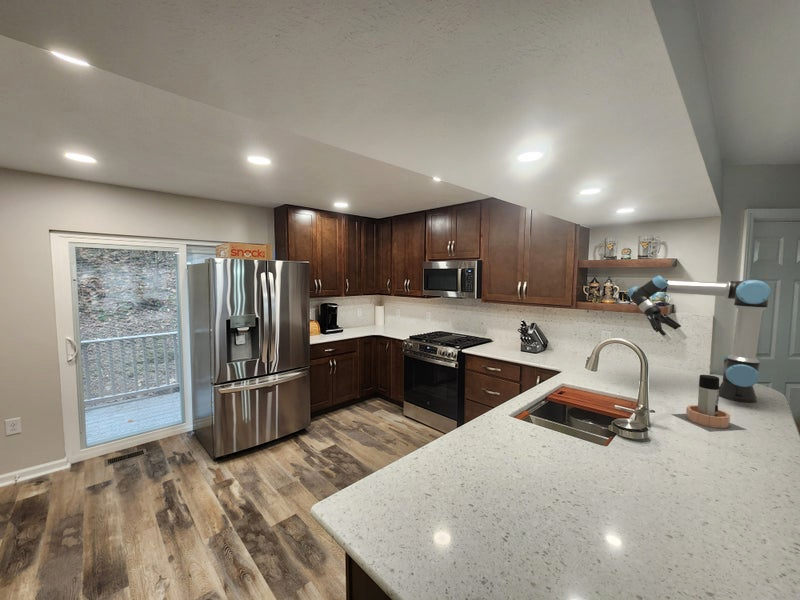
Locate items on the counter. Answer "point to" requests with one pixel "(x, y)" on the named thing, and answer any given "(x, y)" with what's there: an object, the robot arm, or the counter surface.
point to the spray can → (708, 395)
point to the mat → (710, 429)
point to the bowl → (708, 418)
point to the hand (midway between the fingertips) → (678, 339)
